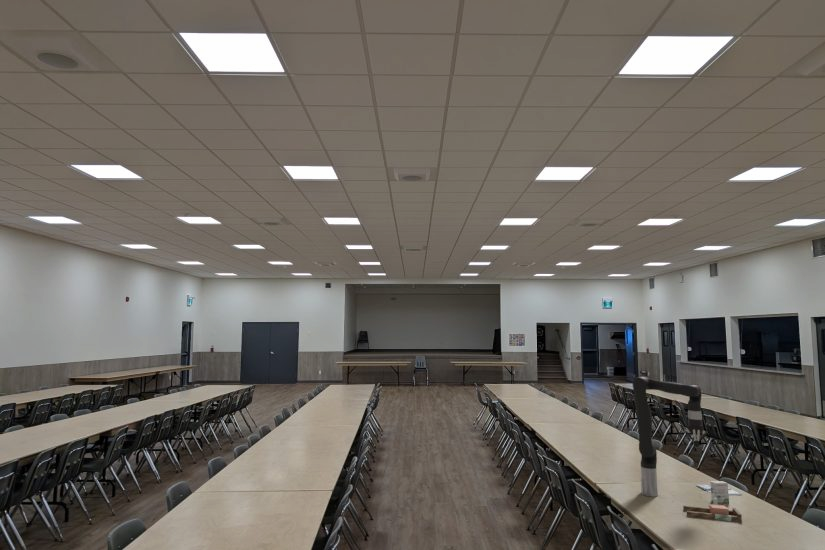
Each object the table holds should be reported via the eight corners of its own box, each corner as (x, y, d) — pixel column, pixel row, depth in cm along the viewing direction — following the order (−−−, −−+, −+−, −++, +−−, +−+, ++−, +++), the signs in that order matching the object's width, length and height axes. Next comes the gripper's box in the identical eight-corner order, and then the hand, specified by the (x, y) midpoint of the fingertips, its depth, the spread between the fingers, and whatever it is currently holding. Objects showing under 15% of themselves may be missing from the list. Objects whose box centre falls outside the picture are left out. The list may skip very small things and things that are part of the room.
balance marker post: (714, 511, 291) (713, 498, 292) (713, 510, 293) (712, 497, 294) (718, 511, 290) (717, 499, 291) (717, 510, 292) (716, 498, 293)
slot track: (687, 516, 283) (686, 508, 283) (683, 509, 293) (683, 502, 294) (741, 522, 274) (741, 514, 275) (735, 515, 285) (735, 508, 285)
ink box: (724, 500, 311) (722, 480, 312) (729, 502, 306) (728, 483, 308) (711, 500, 311) (709, 480, 312) (716, 503, 306) (715, 483, 307)
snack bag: (722, 486, 341) (722, 483, 341) (742, 496, 321) (742, 492, 321) (695, 486, 340) (695, 483, 340) (714, 496, 320) (713, 492, 320)
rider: (713, 517, 281) (712, 507, 282) (710, 514, 287) (709, 504, 287) (729, 519, 279) (728, 509, 279) (725, 515, 284) (725, 505, 285)
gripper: (684, 418, 304) (685, 447, 302) (708, 419, 300) (710, 449, 298) (681, 416, 311) (683, 444, 309) (705, 417, 307) (707, 446, 305)
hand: (696, 446), depth 303 cm, fingers closed
